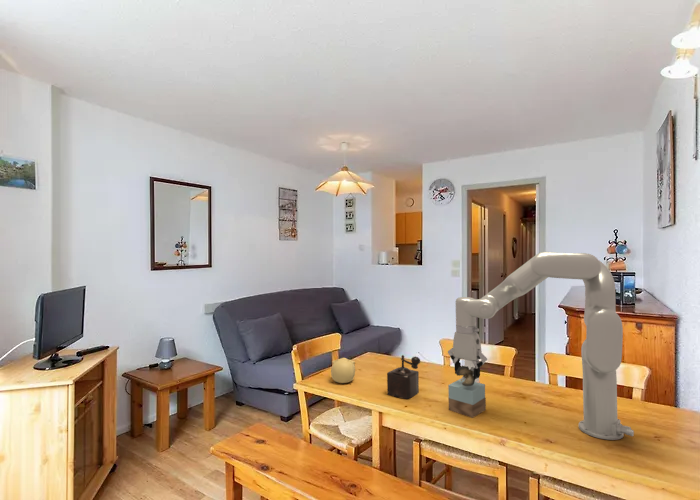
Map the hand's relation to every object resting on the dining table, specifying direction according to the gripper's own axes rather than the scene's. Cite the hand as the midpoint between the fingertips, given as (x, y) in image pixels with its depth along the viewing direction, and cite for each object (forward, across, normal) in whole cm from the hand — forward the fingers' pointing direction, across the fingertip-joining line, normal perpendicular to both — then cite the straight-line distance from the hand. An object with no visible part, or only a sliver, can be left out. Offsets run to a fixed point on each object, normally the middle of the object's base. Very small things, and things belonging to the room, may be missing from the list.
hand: (467, 375), depth 146 cm
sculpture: (+14, +59, +12) cm, 62 cm away
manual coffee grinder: (+14, +26, +4) cm, 30 cm away
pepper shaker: (+14, +11, -22) cm, 28 cm away
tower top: (+9, 0, 0) cm, 9 cm away
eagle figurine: (+2, -1, +2) cm, 3 cm away
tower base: (+14, 0, 0) cm, 14 cm away
